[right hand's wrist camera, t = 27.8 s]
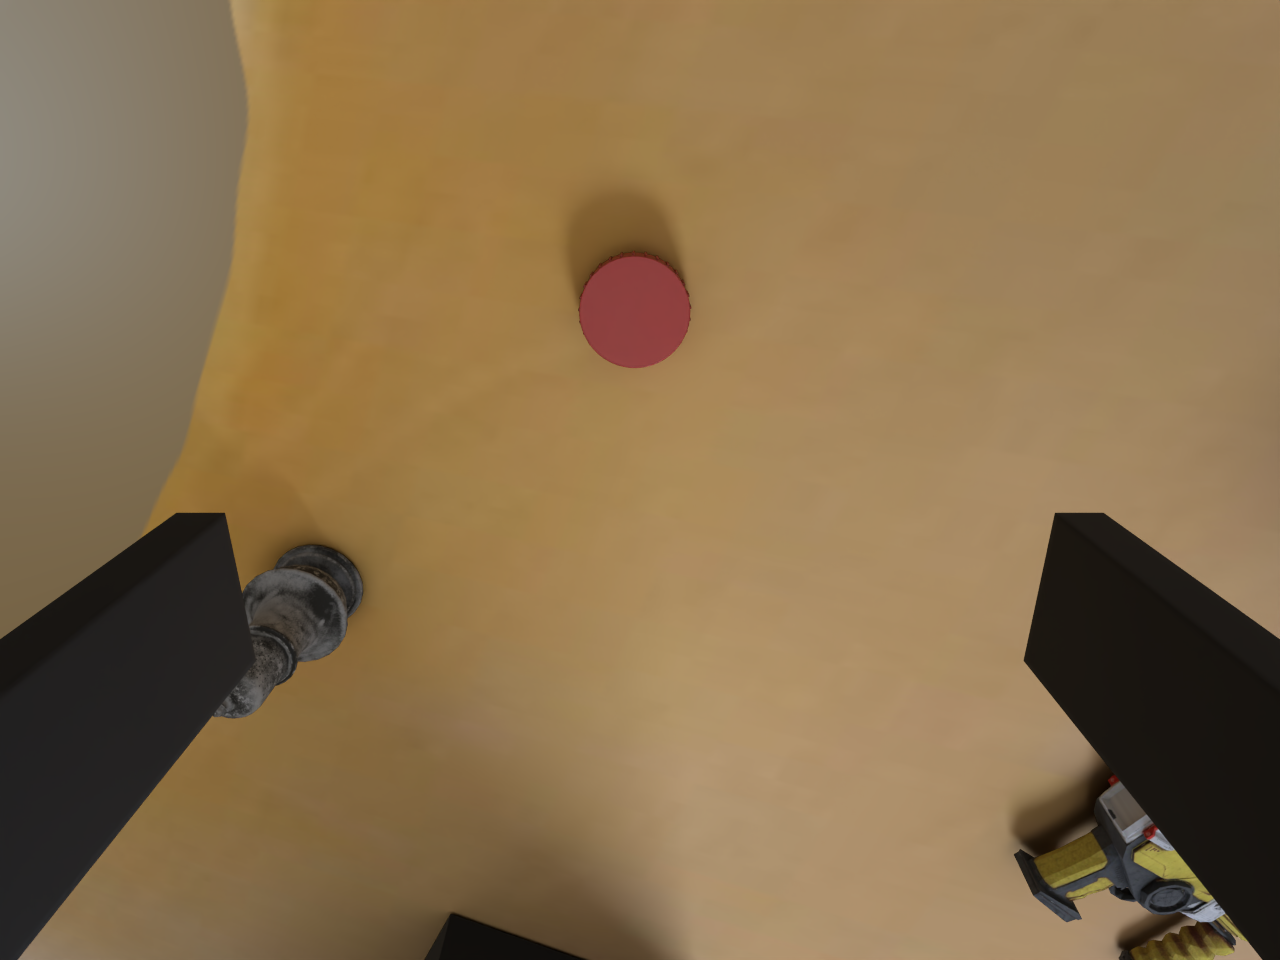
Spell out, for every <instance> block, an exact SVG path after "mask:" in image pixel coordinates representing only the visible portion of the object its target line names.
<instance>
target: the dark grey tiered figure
mask: <svg viewBox="0 0 1280 960" xmlns="http://www.w3.org/2000/svg"><path fill="white" fill-rule="evenodd" d="M362 595H363V585H362V580H361V578H360V575H359V572H358V571H357V569H356V568H355V567H354V565H353V564H352V563H351V562H350V561H349V560H348V559H347V558H346V557H345V556H344V555H342V554H340V553H338V552H337V551H335V550H333V549H330V548H327V547H323V546H318V545H305V546H300V547H296V548H294V549H292V550H290V551H288V552H287V553H285V554H284V555H283V556H282V557H281V558H280V559H279V560H278V562H277V564H276V566H275V567H274V570H269V571H266V572H264V573H262V574H260V575H258V576H256V577H255V578H254V579H253V580H252V581H251V582H250V583H248V584H247V585H246V587H245V589H244V591H243V593H242V596H243V600H244V605H245V610H246V614H247V619H248V624H249V629H250V633H251V638H252V643H253V647H254V652H255V657H256V662H255V663H254V664H253V665H252V667H251V668H250V669H249V670H248V672H247V673H246V674H245V675H244V677H243V678H242V679H241V680H240V682H239V683H238V684H237V685H236V687H235V688H234V689H233V690H232V692H231V693H230V694H229V695H228V697H227V698H226V699H225V700H224V702H223V703H222V704H221V705H220V707H219V708H218V709H217V710H216V712H215V713H214V714H213V716H214V717H220V716H222V717H226V718H241V717H246V716H248V715H250V714H252V713H253V712H255V711H256V710H257V709H258V708H259V707H260V706H261V705H262V703H263V702H264V701H265V699H266V698H267V696H268V695H269V694H270V692H271V691H272V690H273V688H274V687H275V686H276V685H279V684H282V683H284V682H286V681H287V680H288V679H289V678H290V677H291V676H292V675H293V673H294V672H295V670H296V667H297V662H298V661H301V662H306V661H312V660H318V659H320V658H322V657H325V656H327V655H329V654H330V653H331V652H333V651H334V650H335V649H336V648H337V647H338V646H339V645H340V643H341V642H342V640H343V638H344V637H345V634H346V630H347V625H348V623H347V618H348V617H349V616H351V615H352V614H353V613H354V612H355V611H356V609H357V608H358V606H359V604H360V603H361V599H362Z"/></svg>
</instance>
